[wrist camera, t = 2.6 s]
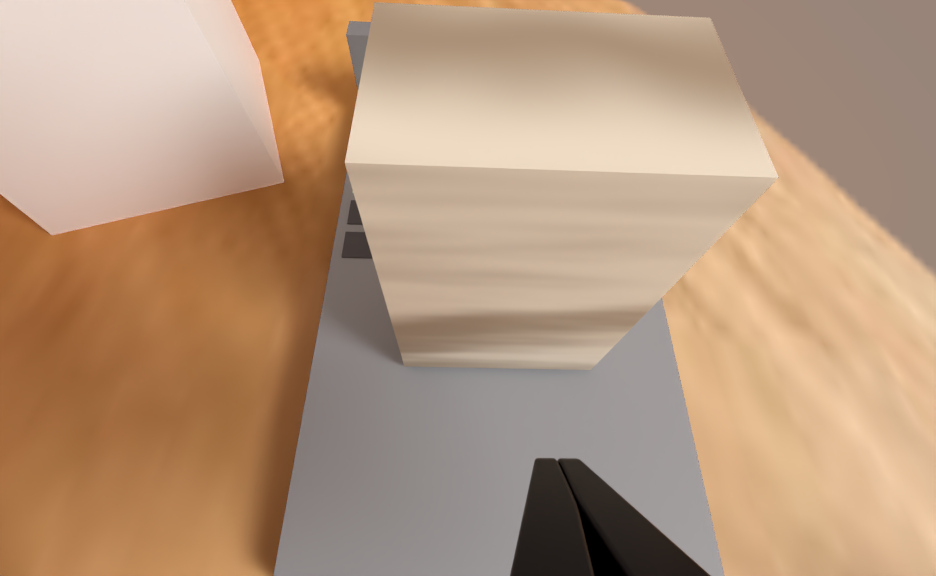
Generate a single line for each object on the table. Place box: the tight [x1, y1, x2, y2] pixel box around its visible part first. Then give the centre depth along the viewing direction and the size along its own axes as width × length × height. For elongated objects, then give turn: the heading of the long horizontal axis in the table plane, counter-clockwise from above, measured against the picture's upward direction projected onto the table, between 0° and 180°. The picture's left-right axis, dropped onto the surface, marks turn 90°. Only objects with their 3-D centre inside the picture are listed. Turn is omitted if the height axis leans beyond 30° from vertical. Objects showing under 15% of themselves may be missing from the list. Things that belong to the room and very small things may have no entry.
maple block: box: [345, 2, 779, 370], centre depth 14 cm, size 5×8×12 cm, turn 90°
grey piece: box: [273, 21, 724, 576], centre depth 20 cm, size 26×16×6 cm, turn 179°
